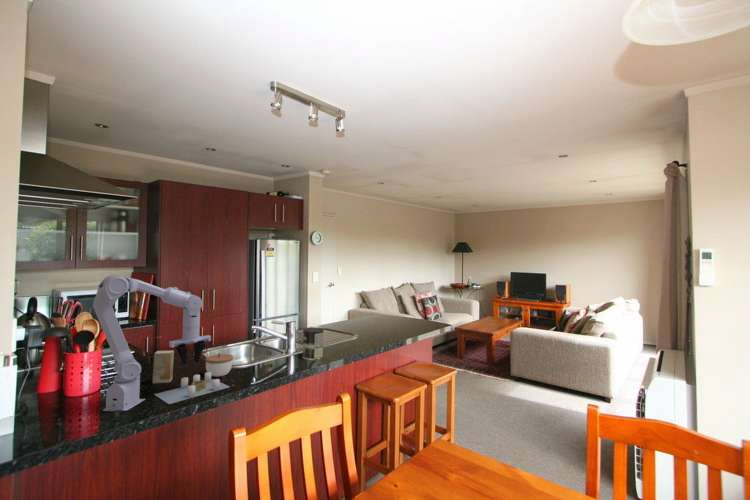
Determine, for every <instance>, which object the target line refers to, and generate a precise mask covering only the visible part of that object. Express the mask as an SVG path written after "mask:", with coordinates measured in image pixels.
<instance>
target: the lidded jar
mask: <svg viewBox="0 0 750 500" xmlns="http://www.w3.org/2000/svg"><path fill="white" fill-rule="evenodd" d="M233 359H234V356H233V355H232V354H228V353H221V352H219V353H218V354H212V355H209V356H206V357H205V369H206V372H211V377H215V378H216V377H224V376H226V375H228V374H229V373H230V371H231V370H232V367H233Z"/></svg>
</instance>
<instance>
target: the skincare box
mask: <svg viewBox="0 0 750 500" xmlns="http://www.w3.org/2000/svg"><path fill="white" fill-rule="evenodd" d="M174 355H175V350H157V351H155V352H154V355H153V370H152V384H163V383H171V381H172V380H173V373H174V359H175V358H174V357H175V356H174Z"/></svg>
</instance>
